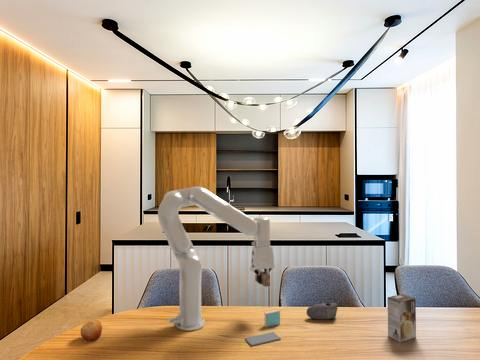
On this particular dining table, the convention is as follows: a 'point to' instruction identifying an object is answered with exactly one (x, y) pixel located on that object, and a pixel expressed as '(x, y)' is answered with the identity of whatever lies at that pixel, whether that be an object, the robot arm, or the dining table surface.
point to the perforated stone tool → (322, 311)
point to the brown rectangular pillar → (264, 278)
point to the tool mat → (262, 338)
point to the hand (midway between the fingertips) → (262, 282)
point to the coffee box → (401, 317)
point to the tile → (271, 318)
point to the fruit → (91, 330)
